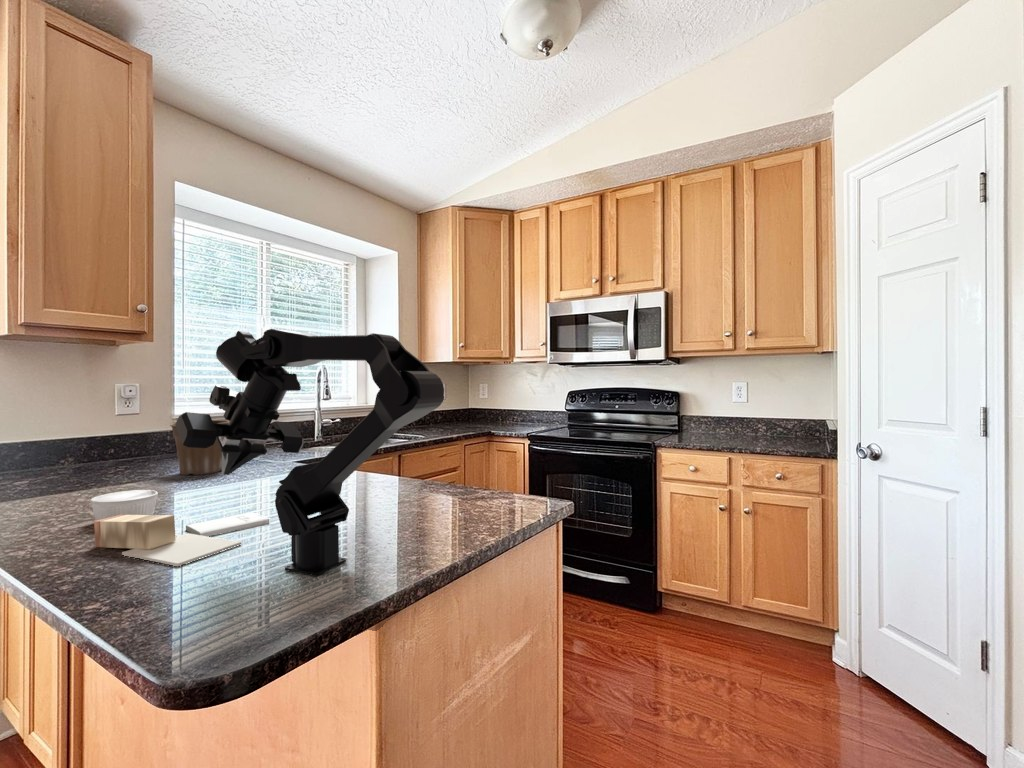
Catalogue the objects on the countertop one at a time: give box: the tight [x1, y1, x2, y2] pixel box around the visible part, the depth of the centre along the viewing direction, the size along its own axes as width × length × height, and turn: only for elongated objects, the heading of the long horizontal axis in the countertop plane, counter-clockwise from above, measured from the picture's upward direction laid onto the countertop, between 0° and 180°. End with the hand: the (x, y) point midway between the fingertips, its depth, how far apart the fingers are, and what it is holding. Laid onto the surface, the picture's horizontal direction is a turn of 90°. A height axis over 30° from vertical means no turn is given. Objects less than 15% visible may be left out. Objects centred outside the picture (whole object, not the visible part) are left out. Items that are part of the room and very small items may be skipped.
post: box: [93, 514, 176, 549], centre depth 87 cm, size 4×4×13 cm
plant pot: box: [169, 419, 229, 476], centre depth 160 cm, size 16×16×16 cm
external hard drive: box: [185, 512, 270, 537], centre depth 98 cm, size 2×8×12 cm
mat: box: [121, 532, 242, 567], centre depth 84 cm, size 14×11×1 cm
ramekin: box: [90, 489, 159, 521], centre depth 104 cm, size 11×11×5 cm
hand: (224, 473), depth 84 cm, fingers closed
